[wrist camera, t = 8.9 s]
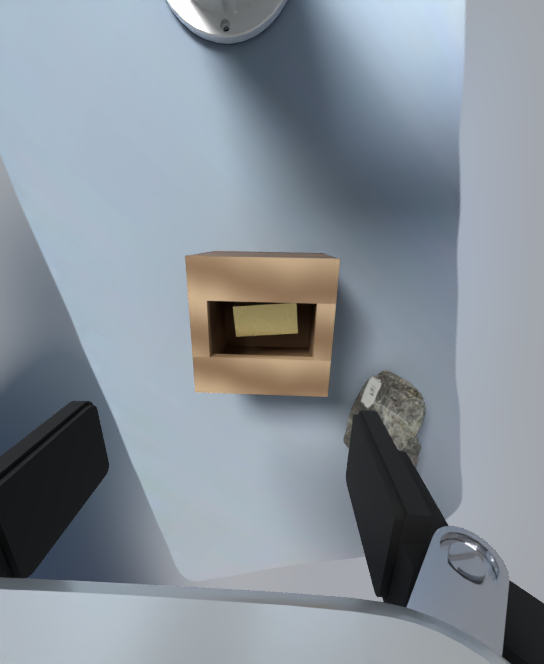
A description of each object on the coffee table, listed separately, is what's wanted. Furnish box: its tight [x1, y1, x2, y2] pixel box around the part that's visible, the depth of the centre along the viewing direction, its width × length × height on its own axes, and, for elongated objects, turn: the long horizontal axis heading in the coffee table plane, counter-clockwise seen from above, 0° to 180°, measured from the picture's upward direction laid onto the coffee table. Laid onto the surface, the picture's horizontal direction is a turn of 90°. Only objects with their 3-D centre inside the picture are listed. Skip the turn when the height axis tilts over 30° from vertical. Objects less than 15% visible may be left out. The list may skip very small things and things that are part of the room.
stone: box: [344, 370, 425, 467], centre depth 35 cm, size 14×7×10 cm, turn 1°
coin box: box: [185, 251, 340, 397], centre depth 29 cm, size 12×12×10 cm
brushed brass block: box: [233, 302, 298, 337], centre depth 30 cm, size 3×6×6 cm, turn 94°
